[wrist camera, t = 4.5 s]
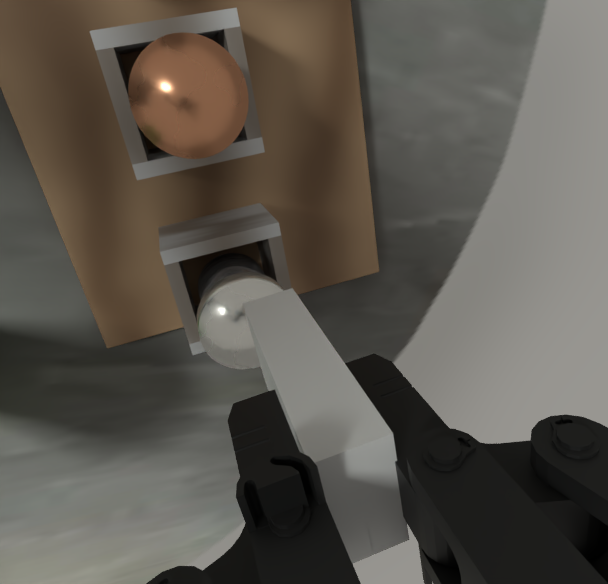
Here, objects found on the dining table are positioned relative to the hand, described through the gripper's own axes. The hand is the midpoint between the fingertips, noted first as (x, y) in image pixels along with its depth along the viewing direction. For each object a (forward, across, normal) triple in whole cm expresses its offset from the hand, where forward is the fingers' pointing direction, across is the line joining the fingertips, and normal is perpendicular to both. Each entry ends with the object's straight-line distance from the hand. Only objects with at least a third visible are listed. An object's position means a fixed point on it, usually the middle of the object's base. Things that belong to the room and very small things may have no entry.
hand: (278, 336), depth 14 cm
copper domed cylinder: (+13, 0, +7) cm, 14 cm away
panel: (+17, +1, +6) cm, 18 cm away
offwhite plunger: (+12, 0, -3) cm, 12 cm away
